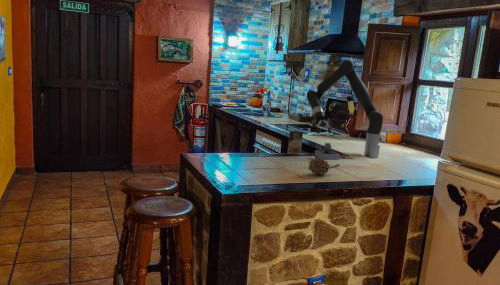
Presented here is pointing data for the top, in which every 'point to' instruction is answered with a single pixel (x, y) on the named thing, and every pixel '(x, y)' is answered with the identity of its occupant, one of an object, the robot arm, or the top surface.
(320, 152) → the slate bin
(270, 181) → the top surface
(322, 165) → the pine cone
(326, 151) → the metal strut
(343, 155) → the stud base
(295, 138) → the coffee box
